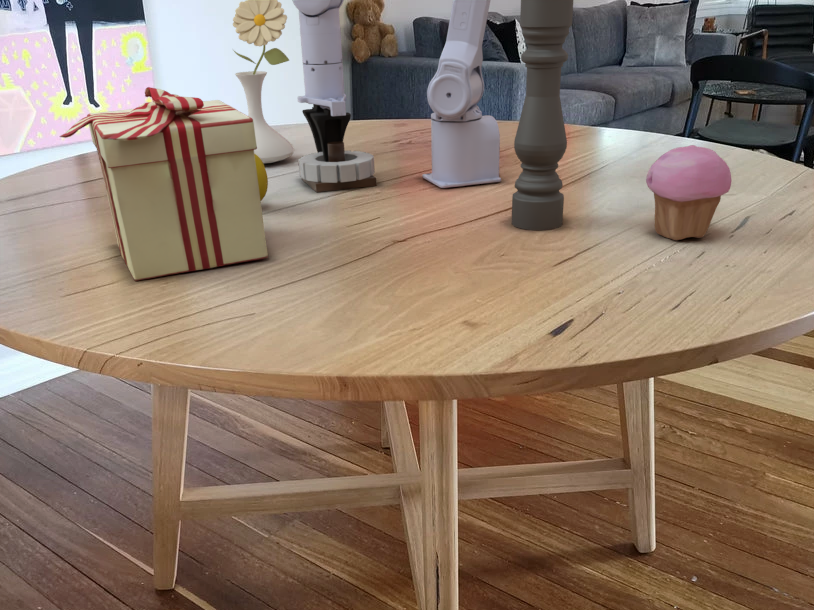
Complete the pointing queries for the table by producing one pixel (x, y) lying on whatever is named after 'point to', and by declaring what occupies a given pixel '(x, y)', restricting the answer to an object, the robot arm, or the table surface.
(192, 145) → the gift box
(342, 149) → the brown peg stand
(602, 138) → the table surface
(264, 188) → the lemon
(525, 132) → the candle holder
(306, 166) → the grey notched ring
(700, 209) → the cupcake
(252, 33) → the flower in vase
